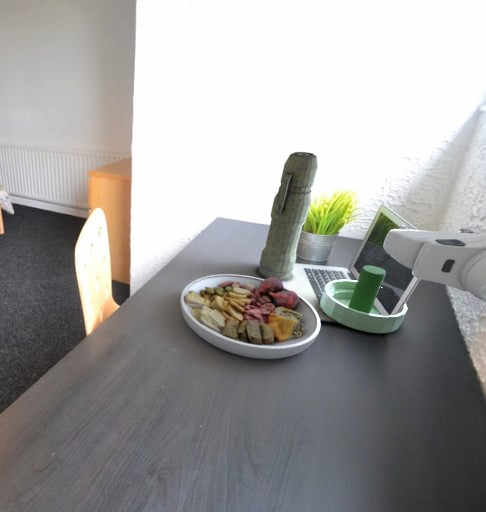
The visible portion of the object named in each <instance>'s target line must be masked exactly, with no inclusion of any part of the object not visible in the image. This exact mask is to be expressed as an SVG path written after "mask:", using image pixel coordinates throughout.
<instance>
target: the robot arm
mask: <svg viewBox="0 0 486 512" xmlns="http://www.w3.org/2000/svg"><path fill="white" fill-rule="evenodd" d="M383 249H384V252H386V253H387V254H388V255H389V256H390V257H392V259H394V260H395V261H396V262H398V263H399V264H400V265H401V266H404V267H406V268H408V269H410V270H412V271H411V275H412V276H413V277H415V279H418V280H422V281H426V282H430V283H436V284H439V285H444V286H447V287H451V288H454V289H457V290H459V291H462V292H467V293H469V294H471V296H473V297H474V298H476V299H478V300H481V301H483V302H486V233H485V232H481V231H477V230H474V229H473V228H463V227H462V228H460V229H459V230H458V232H453V231H437V230H436V231H435V230H433V231H432V230H416V228H415V227H413V226H412V225H405V224H401V225H400V226H399V228H398V229H396V228H393V229H391V230H389V231H388V233H387V234H386V236H385V239H384V241H383Z"/></svg>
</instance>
